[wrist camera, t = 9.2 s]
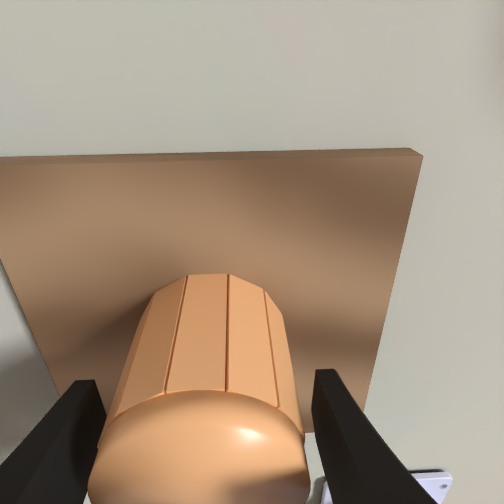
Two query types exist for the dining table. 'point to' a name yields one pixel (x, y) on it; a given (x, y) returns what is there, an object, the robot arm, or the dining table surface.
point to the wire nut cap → (205, 403)
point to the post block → (207, 249)
